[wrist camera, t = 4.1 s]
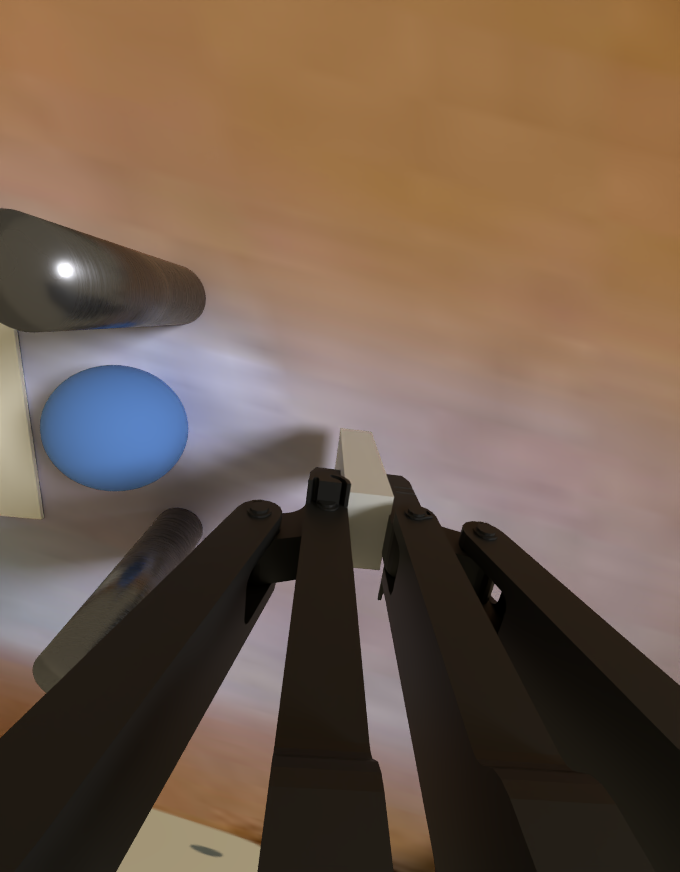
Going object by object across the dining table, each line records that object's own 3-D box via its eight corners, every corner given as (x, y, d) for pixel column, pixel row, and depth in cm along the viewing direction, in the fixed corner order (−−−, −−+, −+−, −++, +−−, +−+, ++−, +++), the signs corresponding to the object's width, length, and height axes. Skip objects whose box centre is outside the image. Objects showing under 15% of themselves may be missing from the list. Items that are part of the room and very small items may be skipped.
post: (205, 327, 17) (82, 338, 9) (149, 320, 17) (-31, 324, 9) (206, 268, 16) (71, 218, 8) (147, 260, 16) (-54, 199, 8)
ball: (177, 456, 20) (208, 493, 16) (56, 477, 17) (54, 530, 13) (166, 357, 19) (197, 370, 15) (30, 361, 16) (18, 378, 11)
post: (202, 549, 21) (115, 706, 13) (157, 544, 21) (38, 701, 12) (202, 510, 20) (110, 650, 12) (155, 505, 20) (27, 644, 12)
